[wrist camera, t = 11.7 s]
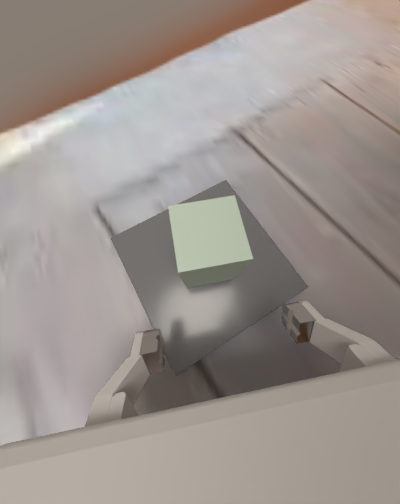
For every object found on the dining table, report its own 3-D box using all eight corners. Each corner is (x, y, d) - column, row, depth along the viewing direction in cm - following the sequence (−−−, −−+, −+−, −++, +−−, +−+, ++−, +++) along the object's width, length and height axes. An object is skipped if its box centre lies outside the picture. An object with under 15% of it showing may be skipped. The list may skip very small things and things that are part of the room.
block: (222, 237, 21) (234, 195, 13) (232, 279, 19) (253, 258, 12) (179, 244, 21) (167, 206, 13) (186, 287, 19) (178, 272, 12)
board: (224, 185, 24) (225, 179, 23) (303, 288, 20) (308, 286, 19) (114, 241, 22) (110, 238, 21) (177, 372, 18) (175, 375, 17)
